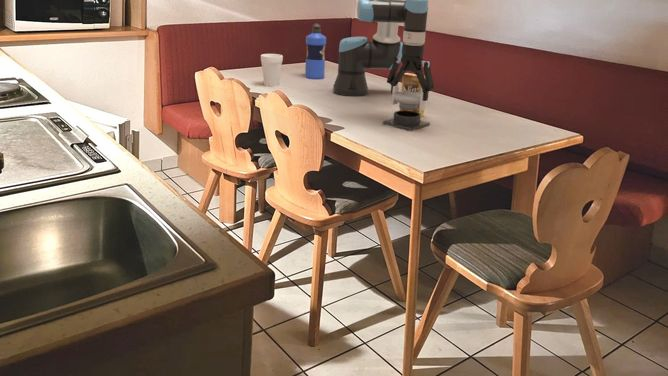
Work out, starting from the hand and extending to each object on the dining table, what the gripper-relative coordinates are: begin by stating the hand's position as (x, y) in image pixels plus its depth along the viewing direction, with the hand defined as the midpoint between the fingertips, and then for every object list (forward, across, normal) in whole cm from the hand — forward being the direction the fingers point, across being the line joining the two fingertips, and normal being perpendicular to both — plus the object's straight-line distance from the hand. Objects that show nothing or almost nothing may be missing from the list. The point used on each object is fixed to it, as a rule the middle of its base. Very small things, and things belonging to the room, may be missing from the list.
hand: (408, 106), depth 230 cm
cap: (0, 0, 0) cm, 0 cm away
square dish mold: (+7, 0, 0) cm, 7 cm away
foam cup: (+6, -79, +11) cm, 80 cm away
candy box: (+7, -7, +14) cm, 17 cm away
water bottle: (+6, -79, +40) cm, 89 cm away
